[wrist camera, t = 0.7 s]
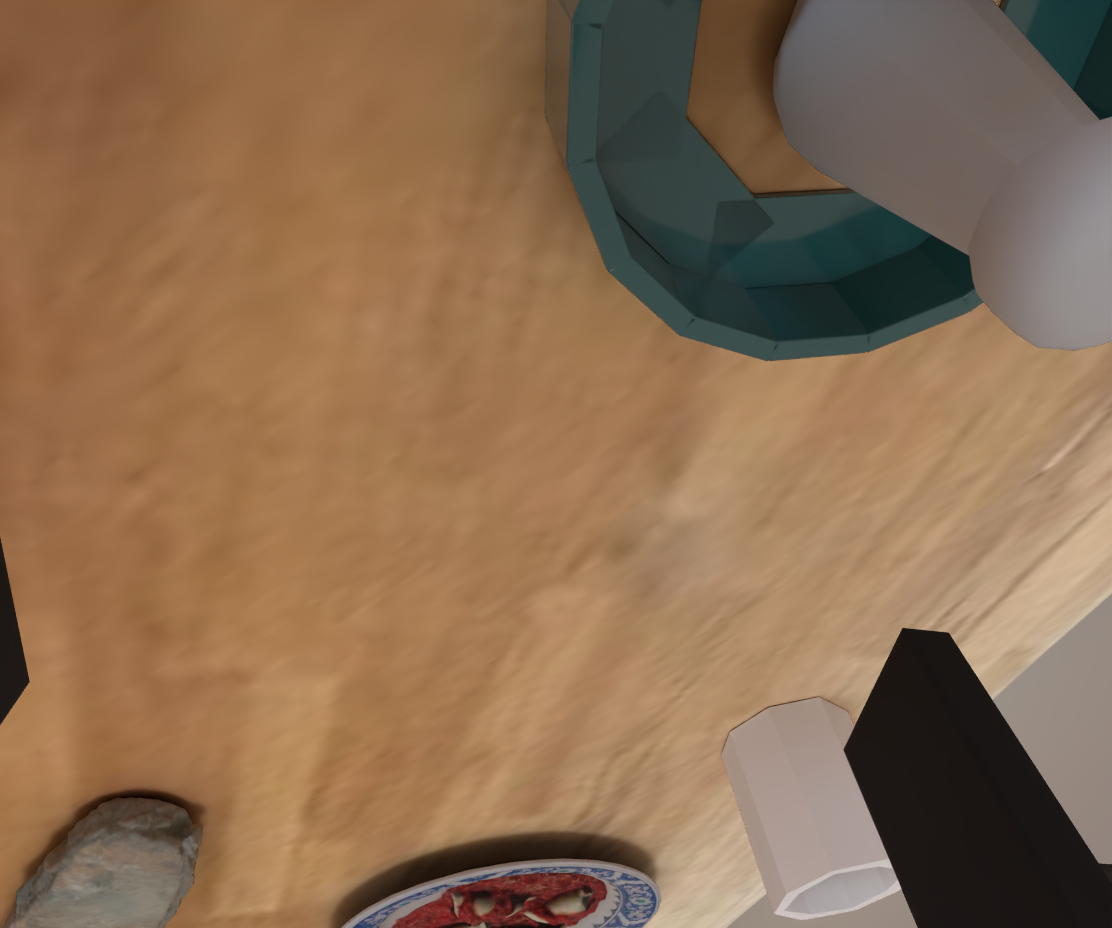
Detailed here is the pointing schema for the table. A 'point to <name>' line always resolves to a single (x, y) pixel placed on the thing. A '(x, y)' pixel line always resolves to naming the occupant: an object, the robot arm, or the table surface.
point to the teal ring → (761, 219)
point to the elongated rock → (114, 870)
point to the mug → (806, 811)
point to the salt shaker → (962, 149)
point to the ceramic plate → (522, 898)
